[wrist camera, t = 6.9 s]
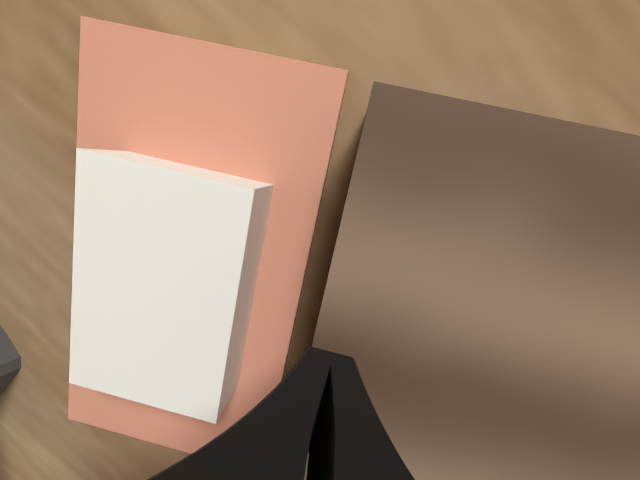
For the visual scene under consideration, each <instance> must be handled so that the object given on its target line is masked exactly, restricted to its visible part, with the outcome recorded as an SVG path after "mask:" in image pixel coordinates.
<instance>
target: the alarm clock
mask: <svg viewBox="0 0 640 480" xmlns="http://www.w3.org/2000/svg"><path fill="white" fill-rule="evenodd" d="M20 368H21V356H20V355H19V353H18V352H17V350H16V348H15V347H14V345H13V344H12V342H11V340H10V339H9V337H8V336H7V334H6V332H5V331H4V329H3V328H2V327H1V325H0V394H1V393H2V392H3V391H4V389H5V388H6V387H7V385H8V384H9V383H10V381H11V380H12V379H13V377H14V376H15V375H16V373H17V372H18V371H19V369H20Z"/></svg>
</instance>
